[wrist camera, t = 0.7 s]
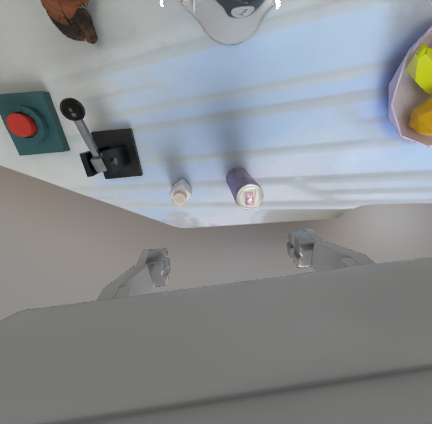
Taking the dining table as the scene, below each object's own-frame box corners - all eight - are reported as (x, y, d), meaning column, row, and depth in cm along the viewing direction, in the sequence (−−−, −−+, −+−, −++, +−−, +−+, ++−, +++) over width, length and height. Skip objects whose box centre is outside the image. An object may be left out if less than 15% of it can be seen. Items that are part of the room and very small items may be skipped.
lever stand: (93, 132, 48) (61, 135, 36) (132, 128, 48) (112, 131, 37) (107, 177, 52) (82, 193, 41) (142, 174, 53) (128, 189, 41)
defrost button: (9, 114, 42) (1, 114, 40) (31, 112, 42) (24, 112, 40) (19, 137, 44) (12, 137, 42) (40, 135, 44) (34, 136, 42)
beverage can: (226, 189, 56) (235, 212, 43) (225, 168, 54) (235, 184, 40) (248, 187, 56) (264, 209, 43) (247, 166, 54) (264, 181, 40)
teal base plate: (0, 96, 43) (-18, 94, 40) (48, 92, 44) (35, 90, 40) (27, 154, 48) (13, 156, 45) (70, 150, 49) (60, 152, 45)
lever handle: (60, 95, 33) (50, 103, 31) (81, 93, 33) (73, 101, 31) (97, 164, 43) (92, 174, 40) (114, 162, 43) (110, 172, 40)
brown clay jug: (39, 12, 39) (10, -44, 31) (84, -6, 41) (67, -61, 33) (84, 66, 40) (66, 27, 32) (124, 46, 43) (117, 5, 35)
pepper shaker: (183, 177, 54) (180, 188, 45) (192, 188, 55) (191, 201, 47) (171, 186, 54) (166, 198, 46) (181, 197, 56) (178, 211, 47)
